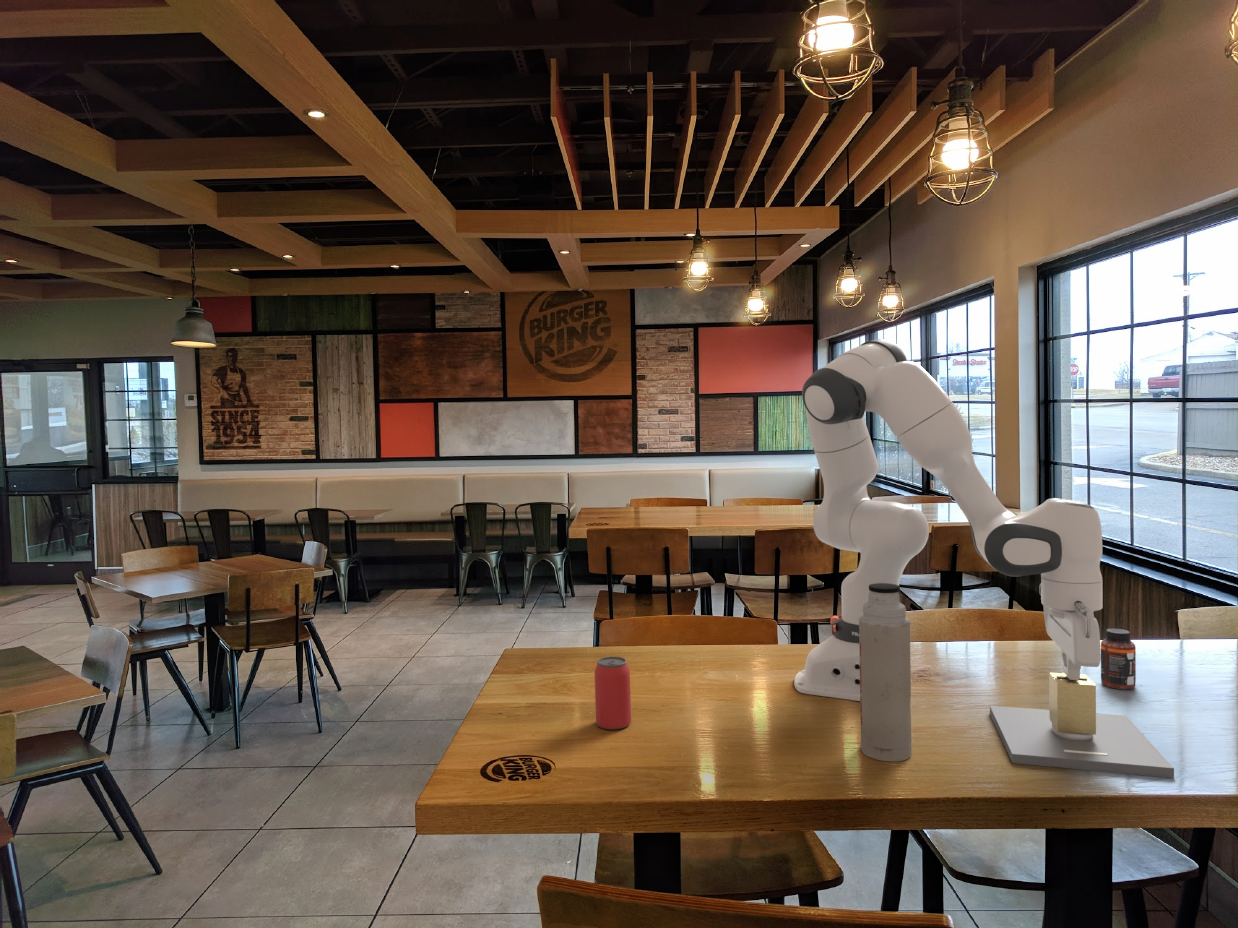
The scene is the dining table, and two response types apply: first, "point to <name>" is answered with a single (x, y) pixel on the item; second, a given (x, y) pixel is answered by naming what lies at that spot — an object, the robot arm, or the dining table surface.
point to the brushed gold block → (1072, 704)
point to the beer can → (612, 693)
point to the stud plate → (1078, 743)
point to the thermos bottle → (885, 675)
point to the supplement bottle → (1118, 660)
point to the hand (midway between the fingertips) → (1071, 677)
